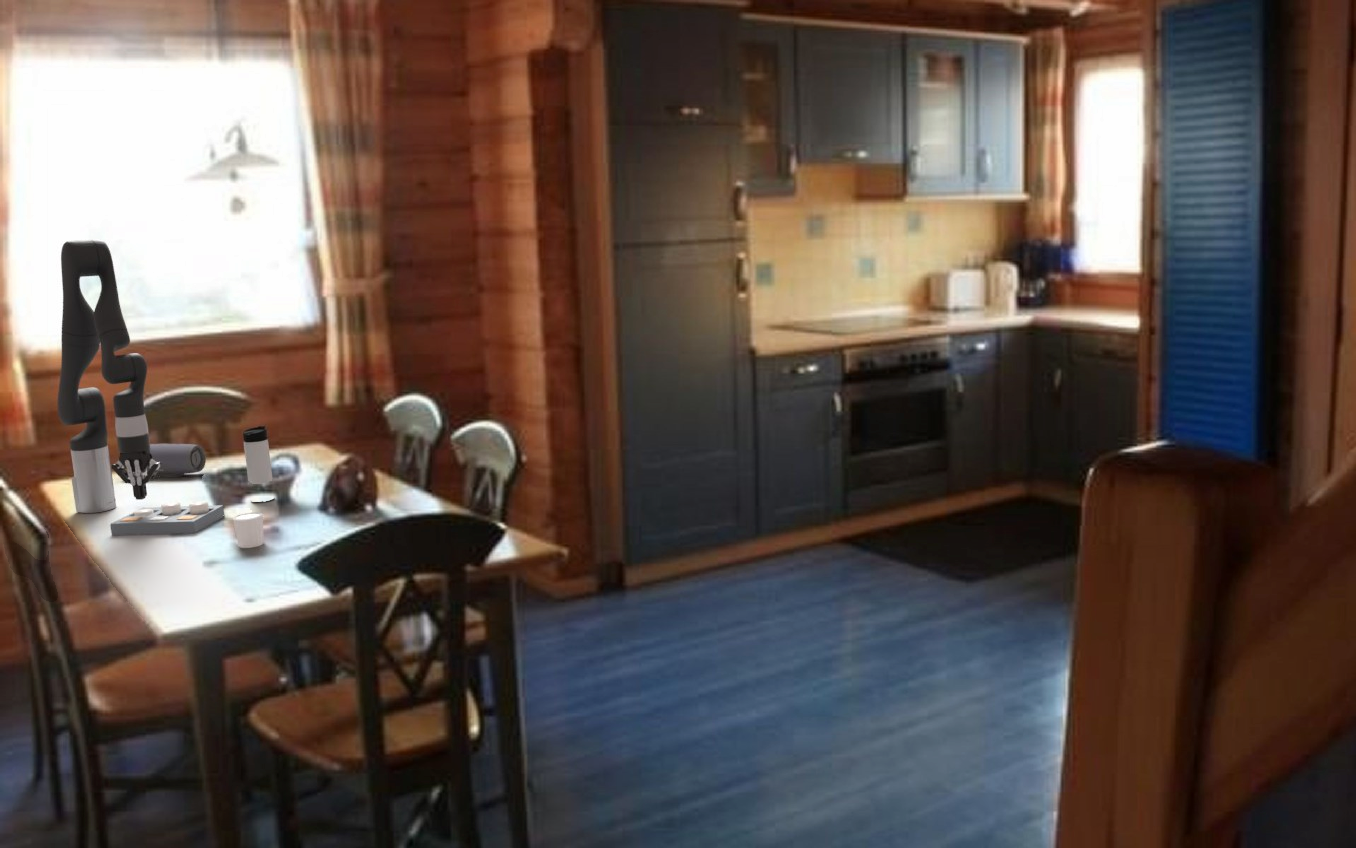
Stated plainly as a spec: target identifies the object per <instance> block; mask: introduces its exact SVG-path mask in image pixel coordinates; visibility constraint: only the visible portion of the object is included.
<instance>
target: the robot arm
mask: <svg viewBox="0 0 1356 848" xmlns="http://www.w3.org/2000/svg"><path fill="white" fill-rule="evenodd" d="M60 253H61V254H60V263H61V264H60V266H61V282H62V320H61V366H60V367H61V368H60V375H59V377H60V378H59V386H58V393H57V407H56V408H57V413H58V417H59V420H60V422H62V424H63V425H67V426H75V425H83V424H86V426H85V428H84V429H83V430H82V431H81V432H80V433H78V434H77V435H74V436H73V437H71V439H70V440H69V449H70V455H71V460H72V461H71V463H72V468H73V475H74V476H73V477H71V485H72V491H73V492H72V493H73V500H74V505H75V506H74V507H75V512H76V513H82V514H93V513H101V512H106V511H110V510H113V509H115V508H116V507H117V502H116V495H115V494H116V493H115V487H114V481H113V474H112V471H114V472H115V474H117V476H118V477H119V478H120V480H122V481H123V482H124V484H129V485H131V486H132V493H133V497H134V498H135V500H137V501H138V500H144V499H146V497H147V496H148V491H147V484H148V483H149V482H152V481H153V480H154V479H155V478H156V477H155V475H156V473H157V472H158V470H159V469H160V467H161V465H162V463H161V462H156V461H155V460H153V457H152V455H151V453H150V444H151V443H150V435H149V434H150V433H149V426H148V420H147V417H146V409H145V402H144V394H145V393H144V392H145V384H146V378H147V374H148V363H147V361H146V359H145V357H144V356H143V355H142V354H140V353H137V352H136V353H135V352H134V353H125V354H124V353H123V354H118V355H115V352H118V351H120V350H123V349H124V348H127V347H128V346H129V345H130V342H131V339H130V338H131V337H130V333H129V331H128V328H127V325H126V322H125V319H124V315H123V313H122V307H121V303H120V298H119V292H118V286H117V279H116V273H115V267H114V262H113V257H112V254H111V253H112V252H111V250H110V248H109V246H108V244H107V243H106V242H105V241H103V240H102V239H85V240H82V239H81V240H68V241H66V242H64V243H63V245H62V248H61V252H60ZM83 277H99V279H100V283H101V285H100V286H101V288H100V293H99V296H98V300H97V303H96V305H95V308H94V310H93V309H92V306H90V304H89V303H88V301H87V300H86V298H85V297H84V295H83V292H82V291H81V284H80V283H81V282H80V279H81V278H83ZM99 349H100V350H101V351H100V352H101V354H100V355H101V368H100V369H101V375H102V378H103V379H104V381H105V382H107V383H108V384H111V385H118V384H126V383H130V384H129V385H128V388H126V389H125V390H122V391H119V392H117V393H116V394H114V395H113V398H112V402H113V408H114V417H115V419H114V420H115V421H114V422H115V425H114V426H115V434H116V441H117V448H118V449H117V451H118V452H119V456H118V460H117V461H116V462H115V463H113V464H112V465H111V458H110V453H109V446H108V424H107V413H106V404H105V403H106V402H105V399H104V397H103V394H102V391H101V390H100V389H99V388H97V387H93V386H92V387H86V388H85V387H84V388H79V387H80V383H81V379H82V377H83V375H84V373H85V372H86V370H87V369H88V367H89V366H90V364H91V363H92V361H93V360H94V358H95V357H96V356H97V354H98V352H99ZM149 464H150V467H149V468H150V470H149V472H148V473H147V468H148V466H149ZM125 468H126V469H125Z"/></svg>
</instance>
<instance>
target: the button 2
mask: <svg viewBox="0 0 1356 848" xmlns="http://www.w3.org/2000/svg"><path fill="white" fill-rule="evenodd" d="M188 506H189V510H190V514H206V513H207V512H209V507H208V506H209V502H207V501H196V502H192V503H189V504H188Z"/></svg>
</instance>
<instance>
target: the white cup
mask: <svg viewBox="0 0 1356 848" xmlns="http://www.w3.org/2000/svg"><path fill="white" fill-rule="evenodd" d="M232 523H233V527H234V531H235V535H236V541H237V545H238V547H239V548H241V549H249V548H257V547H261V546H262V545H264V514H263V513H262V512H248V513H243V514H238V515H235V516H233V517H232Z"/></svg>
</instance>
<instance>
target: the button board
mask: <svg viewBox="0 0 1356 848" xmlns="http://www.w3.org/2000/svg"><path fill="white" fill-rule="evenodd" d="M208 507H209V512H207V513H206V514H190V510H189V505H188V506H181V513H179V514H177V515H162V510H161V506H158V507H157V506H155V507H154V506H153V507H151V506H150V507H142V508H140V509H137V510H136V511H138V510H143V509H153V511H154V513H153V514H151V515H149V516H134V512H135V511H133V512H132V513H129V514H127V515H125V516H123V517H121V518H118V519H117V520H116V521H113V522H111V523H110V524H109V526H110V532H111V536H136V535H135V534H144V535H171V534H172V535H173V534H175V535H177V534H196V533H198V532H200V531H201V530H203V529H205V528H207V527H208V526H210V525H212V524H214V523H216V522H217V521H220V520H221V519H223V518H224V517H223V515H224V516H225V510H224V505H223V504H221V505H219V504H218V505H217V504H215V505H208Z"/></svg>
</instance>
